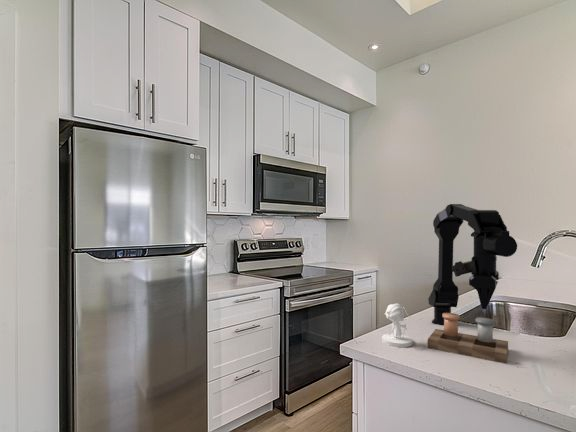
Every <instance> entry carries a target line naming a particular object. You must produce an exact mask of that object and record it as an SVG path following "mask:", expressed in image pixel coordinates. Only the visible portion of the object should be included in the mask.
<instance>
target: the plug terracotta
mask: <svg viewBox="0 0 576 432" xmlns="http://www.w3.org/2000/svg"><path fill="white" fill-rule="evenodd" d="M442 317H443V318H444V325H443V330H444V334H446V335H448V336H458V333H459V320H460V319H461V316H460V314H458V313H453V312H451V313H443V314H442Z"/></svg>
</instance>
